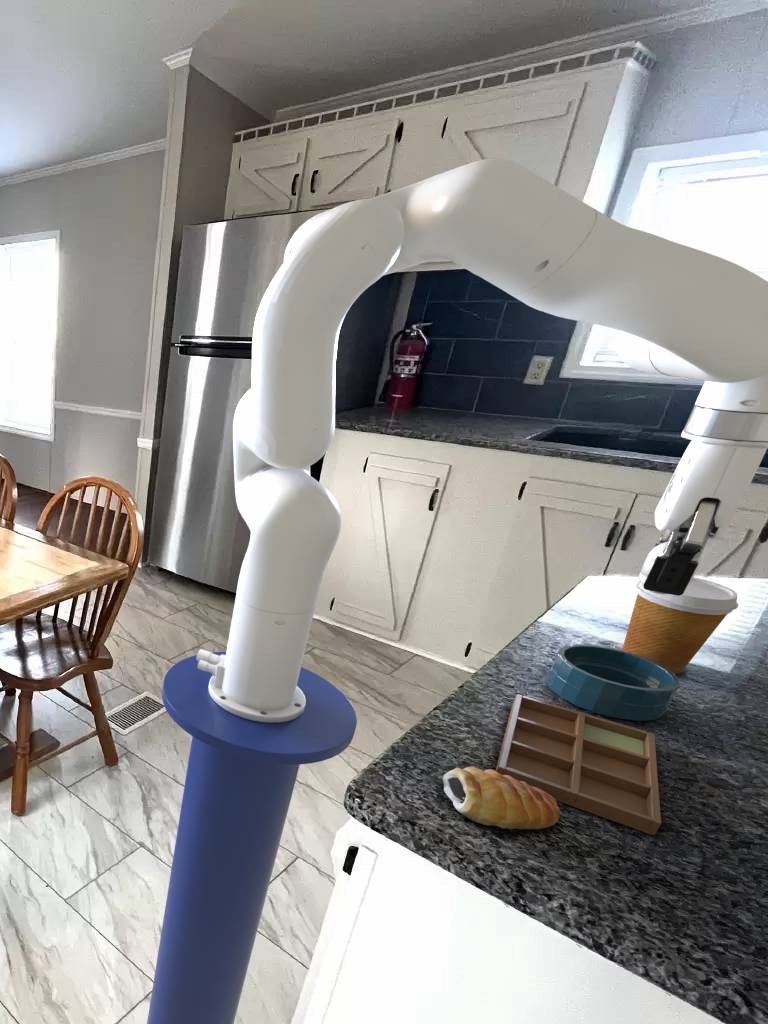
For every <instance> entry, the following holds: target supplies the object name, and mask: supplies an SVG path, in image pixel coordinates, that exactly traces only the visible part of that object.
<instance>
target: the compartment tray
mask: <svg viewBox="0 0 768 1024" xmlns="http://www.w3.org/2000/svg"><path fill="white" fill-rule="evenodd" d="M657 762H658V761H657V750H656V735H655V733H653V732H652V731H651V732H650V731H647V730H645V729H644V730H643V729H640V728H637V727H633V726H631V725H626V724H623V723H619V722H616V721H612V720H608V719H606V718H602V717H598V716H595V715H593V714H592V715H591V714H589V713H584V712H581V711H578V710H574V709H571V708H567V707H564V706H560V705H556V704H555V703H554V704H553V703H550V702H546V701H543V700H539V699H536V698H532V697H529V696H526V695H522V694H519V693H516V694H515V697H514V700H513V702H512V705H511V709H510V713H509V715H508V719H507V724H506V727H505V731H504V736H503V740H502V744H501V747H500V751H499V756H498V759H497V764H496V767H495V771H496V772H498V773H499V774H501V775H509V776H511V777H512V778H514V779H516V780H518V781H523V782H526V783H527V784H528V785H530V786H533V787H536V788H539V789H541V790H543V791H544V792H546V793H547V794H549V795H550V796H552V797H553V798H555V800H556V802H559V803H562V804H565V805H567V806H571V807H573V808H576V809H579V810H581V811H585V812H586V813H590V814H593V815H596V816H598V817H600V818H604V819H606V820H610V821H612V822H615V823H617V824H620V825H623V826H626V827H628V828H631V829H634V830H637V831H640V832H643V833H645V834H648V835H650V836H655V835H656V834H657V832H658V830H659V829H660V827H661V826H662V815H661V803H660V790H659V789H660V788H659V777H658V776H659V775H658V763H657Z"/></svg>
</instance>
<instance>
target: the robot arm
mask: <svg viewBox="0 0 768 1024" xmlns="http://www.w3.org/2000/svg"><path fill="white" fill-rule="evenodd" d="M441 260H448V261H450V262H453V263H455V264H456V265H458V266H460V267H461V268H463V269H465V270H467V271H469V272H470V273H472V274H473V275H475V276H477V277H479V278H481V279H483V280H485V281H486V282H488V283H490V284H492V285H493V286H494V287H497V288H498V289H500V290H502V291H503V292H505V293H506V294H508V295H510V296H511V297H513V298H514V299H517V300H518V301H520V302H522V303H523V304H525V305H526V306H528V307H530V308H532V309H534V310H537V311H539V312H544V313H546V314H549V315H552V316H555V317H559V318H562V319H566V320H570V321H571V320H572V321H576V322H581V323H582V322H583V323H588V324H593V325H598V326H602V327H607V328H611V329H614V330H617V331H618V334H617V337H616V341H615V349H616V353H617V356H618V357H619V359H620V360H621V361H622V362H623V363H624V364H625V365H627V366H628V367H630V368H632V369H634V370H635V371H639V372H643V373H645V374H652V375H659V376H664V377H665V376H666V377H672V378H684V379H691V380H698V381H704V383H703V385H702V387H701V389H700V392H699V394H698V396H697V398H696V401H695V403H694V405H693V407H692V409H691V411H690V414H689V416H688V419H687V420H686V423H685V425H684V426H683V429H682V432H681V434H680V437H681V438H683V439H686V440H690V442H689V444H688V445H687V447H686V449H685V451H684V452H683V455H682V457H681V458H680V460H679V462H678V464H677V466H676V468H675V470H674V472H673V473H672V477H671V478H670V480H669V482H668V484H667V486H666V488H665V490H664V492H663V494H662V496H661V498H660V500H659V502H658V504H657V506H656V508H655V510H654V523H655V527H656V529H657V530H658V531H659V532H661V533H662V534H661V536H660V538H659V541H658V543H655V545H654V547H655V546H657V545H659V544H661V543H664V542H667V544H666V546H665V548H664V550H663V553H662V555H661V556H657V557H656V559H655V562H654V564H653V566H652V568H651V570H650V572H649V574H648V576H647V578H646V581H645V583H644V585H643V587H644V589H646V590H650V591H656V592H661V593H666V594H671V595H677V596H680V595H682V594H683V593H684V591H685V589H686V587H687V585H688V583H689V581H690V579H691V577H692V575H693V573H694V571H695V570H696V568H697V566H698V560H699V558H700V556H702V554H703V552H704V549H705V547H706V545H707V543H708V540H709V539H711V540H714V539H717V538H720V537H722V536H723V534H724V533H725V531H726V530H727V528H728V526H729V525H730V523H731V521H732V519H733V517H734V516H735V514H736V513H737V511H738V509H739V506H740V505H741V503H742V501H743V499H744V497H745V495H746V493H747V492H748V489H749V487H750V485H751V483H752V481H753V480H754V477H755V475H756V473H757V471H758V469H759V468H760V465H761V462H762V460H763V459H764V457H765V455H766V452H767V450H768V280H766V279H764V278H763V277H761V276H759V275H758V274H756V273H754V272H752V271H750V270H749V269H746V268H745V267H743V266H741V265H739V264H736V263H735V262H732V261H730V260H728V259H725V258H723V257H720V256H717V255H715V254H712V253H709V252H707V251H703V250H700V249H696V248H694V247H692V246H691V247H690V246H687V245H684V244H681V243H679V242H675V241H672V240H669V239H667V238H664V237H662V236H660V235H656V234H653V233H651V232H647V231H644V230H640V229H637V228H634V227H630V226H627V225H625V224H622V223H620V222H618V221H616V220H614V219H613V218H611V217H609V216H608V215H606V214H604V213H603V212H600V211H599V210H597V209H596V208H594V207H592V206H590V205H589V204H588V203H586V202H584V201H582V200H580V199H579V198H577V197H576V196H573V195H572V194H570V193H569V192H567V191H566V190H564V189H562V188H560V187H559V186H557V185H555V184H553V183H551V182H550V181H548V180H547V179H545V178H543V177H542V176H540V175H538V174H537V173H535V172H534V171H532V170H530V169H528V168H527V167H524V166H523V165H521V164H519V163H518V162H515V161H512V160H508V159H505V158H496V157H492V158H483V159H479V160H475V161H472V162H469V163H466V164H464V165H460V166H458V167H455V168H452V169H449V170H446V171H443V172H441V173H437V174H436V175H432V176H430V177H428V178H425V179H422V180H420V181H417V182H415V183H411V184H409V185H406V186H403V187H400V188H398V189H394V190H391V191H389V192H386V193H383V194H380V195H377V196H373V197H369V198H360V199H356V200H353V201H349V202H348V201H347V202H345V203H342V204H340V205H337V206H335V207H333V208H331V209H327V210H326V211H325V210H324V211H323V212H319V213H318V214H315V215H314V216H312V217H310V218H308V219H307V220H306V221H305V222H304V223H303V224H301V225H300V226H299V227H298V228H297V229H296V231H295V232H294V233H293V234H292V236H291V237H290V240H289V241H288V243H287V246H286V248H285V252H284V256H283V263H282V264H281V266H280V267H279V268H278V270H277V271H276V272H275V275H274V276H273V277H272V280H271V281H270V282H269V284H268V287H267V288H266V290H265V292H264V294H263V296H262V299H261V301H260V304H259V305H258V309H257V312H256V315H255V320H254V323H253V331H252V341H251V342H252V343H251V374H250V379H251V380H250V383H251V384H250V385H251V386H250V388H249V389H247V391H246V392H245V393H244V394H243V396H242V397H241V399H240V400H239V402H238V404H237V406H236V409H235V411H234V416H233V423H232V449H233V451H232V452H233V477H234V478H233V479H234V493H235V495H234V496H235V503H236V506H237V509H238V512H239V514H240V515H241V517H242V519H243V521H244V522H245V523H246V526H247V527H248V529H249V531H250V537H249V542H248V545H247V550H246V552H245V554H244V558H243V561H242V563H241V567H240V571H239V576H238V580H237V587H236V592H235V594H236V595H235V600H234V605H233V612H232V617H231V622H230V628H229V634H228V640H227V645H226V650H225V652H226V655H223V654H222V655H220V656H219V655H216V654H213V653H211V652H212V651H208V650H205V649H203V648H200V649H199V650H198V651H197V654H196V655H197V657H196V660H197V661H199V663H198V666H197V668H198V669H200V670H203V671H207V672H210V673H212V675H213V676H212V677H211V679H210V681H209V686H208V689H209V694H210V696H211V697H212V699H213V700H214V701H215V702H216V703H217V704H218V705H219V706H220V707H222V708H223V709H225V710H226V711H228V712H230V713H232V714H234V715H237V716H239V717H242V718H245V719H249V720H253V721H258V722H267V723H279V722H286V721H290V720H292V719H295V718H297V717H298V716H300V715H301V714H302V713H303V711H304V708H305V703H306V699H305V695H304V694H303V692H302V691H301V690H300V689H299V688H298V687H297V682H298V678H299V674H300V670H301V667H302V665H303V661H304V657H305V653H306V649H307V644H308V640H309V635H310V631H311V628H312V627H311V626H312V623H313V619H314V614H315V610H316V604H317V601H318V596H319V592H320V588H321V584H322V581H323V577H324V575H325V571H326V568H327V566H328V564H329V560H330V559H331V557H332V554H333V552H334V549H335V547H336V545H337V542H338V540H339V537H340V533H341V528H342V527H341V526H342V516H341V509H340V507H339V505H338V503H337V500H336V498H335V497H334V495H333V494H332V493H331V491H329V490H328V489H327V488H326V487H325V486H324V485H323V484H322V483H321V482H319V481H318V480H317V479H316V478H314V477H313V476H311V466H312V465H314V464H316V463H317V462H319V460H321V459H322V458H323V457H324V456H325V454H326V453H327V452H328V451H329V449H330V447H331V445H332V443H333V440H334V435H335V430H336V368H337V367H336V365H337V364H336V363H337V362H336V361H337V353H338V342H339V336H340V331H341V328H342V324H343V322H344V320H345V318H346V315H347V314H348V312H349V310H350V308H351V307H352V305H353V304H354V303H355V302H356V300H358V298H359V297H360V296H361V295H362V294H363V293H364V292H365V291H366V290H367V289H368V288H369V287H370V286H372V285H373V284H376V282H377V281H379V280H380V279H381V278H382V277H383V276H386V275H390V274H393V273H397V272H399V271H403V270H407V269H409V268H412V267H415V266H419V265H421V264H425V263H428V262H432V261H441ZM676 541H678V542H677V543H676Z"/></svg>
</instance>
